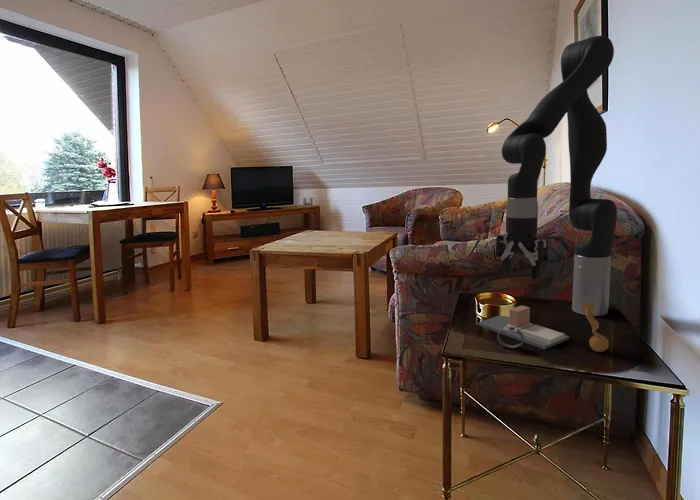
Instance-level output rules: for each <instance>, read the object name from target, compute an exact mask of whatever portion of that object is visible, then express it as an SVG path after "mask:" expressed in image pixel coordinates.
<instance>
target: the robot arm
mask: <svg viewBox="0 0 700 500" xmlns="http://www.w3.org/2000/svg"><path fill="white" fill-rule="evenodd" d="M614 50H615V49H614V44H613V41H612V40H611V39H610V38H609V37H608V36H606V35H595V36H591V37H588V38H585V39H582V40H578V41H575V42H573V43H570V44H568V45H566V46H565V48H564V49H563V51H562V53H561V58H560V69H561V70H560V71H561V77H562V78H561V79H562V81H561V82H560V83H559V84H558V85H556V86H555V87H554V88H553V89H552V90H550V91H549V92H548V93H547V94H545V96H544V97H543V98H542V99H541V100H539V103H537V105H536V106H535V107H534V109H533V110H532V112H531V113H530V114H529V116H528V118H526V119H525V120H524V121H523V122H522V123H520V124H519V126H517V127H516V128H515V129H514V130H513V131H512V132H511V133H510V134H509V135H508V136H507V137H506V139H505V140H504V142H503V144H502V147H501V156H502V158H503V160H504V161H505V162H507V163H508V164H512V165H516V164H517V165H518V164H519V165H520V166H519V167H520V168H519V170H518V172H517V173H513V174H511V175H509V177H508V180H507V200H506V207H505V210H506V211H505V214H506V215H505V233H506V234H507V235H506V234H498V235H497V236H496V241H495V243H496V245H495V257H498V258H500V260H501V261H502V262H501V270H502V274H504V275H507V274H510V273H511V271H512V270H511V266H512V265H511V264H512V263H511V262H512V260H511V258H512V257H513V255H514V254H515V255H516V254H519V255H522V256H525V258H526V259H528V260H529V262H530V263H531V266H530V280H532V281H536V280H538V279H539V278H541V277H540V276H541V266H542V265H545V264H547V263H549V241H548V240H547V239H537V233H538V220H539V219H538V216H539V215H538V212H539V211H538V210H539V204H538V181H539V177H540V175H541V171H542V168H543V165H544V161H545V157H546V154H547V145H546V142H545V140H544V139H545V138H547V137H549V136H551V135H552V134H553V133H554V131H555V130H556V129H557V127H558V125H559V124H561V121H562V120H563V118H565V117H564V116H565V115H566V116H567V130H568V131H567V137H568V138H567V139H568V153H569V167H570V168H569V170H570V172H569V173H570V175H569V176H570V179H569V180H570V182H569V183H570V185H569V187H570V188H569V190H570V191H569V201H568V202H569V205H568V207H569V208H568V213H569V214H568V215H569V221H570V225H571V226H572V227H573V228H574V229H576V230H580V231H588V232H591V234H590V235H591V236H590V239H589V240H586V241H582V242H578V243H576V244H575V246H574V257H573V280H572V283H573V284H572V303H571V310H572V311H573V312H574V313H577V314H580V315H584V316H586V315H585V314H584V313H583V311H582V309H581V306H582V305H583V304H588V303H591V302H594V305H595V306H594V307H593V313H594V314H595V316H596V317H599V316H600V317H601V316H604V315H607V314H608V311H609V303H610V301H609V300H610V289H611V287H610V285H611V282H610V281H611V279H610V277H611V273H610V272H611V258H612V256H611V255H612V249H613V247H614V244H615V235H616V228H617V227H616V226H617V219H618V212H617V206H616V205H617V204H615V202H614V201H612V200H611V199H606V198H592V197H591V196H592V195H591V187H592V186H591V185H592V180H593V177H594V175H595V174H596V171H597V170H598V168H599V167H600V165H601V163H602V161H603V159H604V158H605V156H606V154H607V151H608V137H607V135H608V134H607V125H606V122H605V120H604V118H603V116H602V115H601V113H600V112H599V111H598V109H597V108H596V106H595V105H594V104H593V102H592V100H591V98H590V95H589V93H588V89H589V88H590V87H591V86H592V85H593V84H594V83H595V82H596V81H597V80H598V79H599V78H600V77H601V76H603V74H604V73H605V72H606V71H607V69H608V68H609V67H610V65H611V64H612V62H613V59H614V55H615V51H614ZM506 243H507V245H506ZM506 246H507V247H506Z"/></svg>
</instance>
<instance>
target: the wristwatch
mask: <svg viewBox="0 0 700 500" xmlns="http://www.w3.org/2000/svg"><path fill="white" fill-rule="evenodd" d="M502 331H503V332H508V333H516V334H517V332H518V333H519V334H520V336H521V338H522V341H520V343H519V344H516V345H515V344H514V345H510V344H508V343H505V342H504V341H503V340H501V338H500V335H501V334H500V333H501V332H502ZM496 339H497V342H498V343H499V344H500V345H501V346H503V347H505V348H508V349H517V348H519V347H521V346H522V345H523V344H524V343H525V342H524V336H523V334H522V333H521V331H520V330H518V328H517V327H508V326H505V327H504V328H502V329H501V330H500V331H499V333H498V334H497V336H496Z"/></svg>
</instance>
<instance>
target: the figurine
mask: <svg viewBox="0 0 700 500" xmlns="http://www.w3.org/2000/svg"><path fill="white" fill-rule="evenodd" d="M594 306H595V305H594V302H591V303H588V304H583V305H582V306H581V309H582V311H583V313H584V314H585V315H584V316H585V318H587V320H588V322H589V323H590V325H591V326H590V327H591V328H592V330H591V333H592V334H593V336H590V339H589V341H588V343H589V344H588V345H589V347H590V348H591V349H592V350H593V351H594V352H597V353H603V352H605V351H606V350H607V349H608V348H609V340H608V339H607V337H606V336H604V335H602V334H601V333H599V332H598V331H597V330H598V329H599V328H600V325H599V324H600V323H599V321H597V320H596V317H597V316H595V314H594V313H593V307H594Z"/></svg>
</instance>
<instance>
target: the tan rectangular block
mask: <svg viewBox="0 0 700 500" xmlns="http://www.w3.org/2000/svg"><path fill="white" fill-rule="evenodd" d="M530 312H531V308H530V307H529V306H526V305H523V304H522V305H519V306H516V307H513V308H509V317H510V324H508V325H506V326H508V327H517V328H518V330H520V329H522V328H525V327H528V326H530V325H533V324H534V323H532V322H530V321H531V320H530V318H531V313H530ZM517 333H518V332H517Z"/></svg>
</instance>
